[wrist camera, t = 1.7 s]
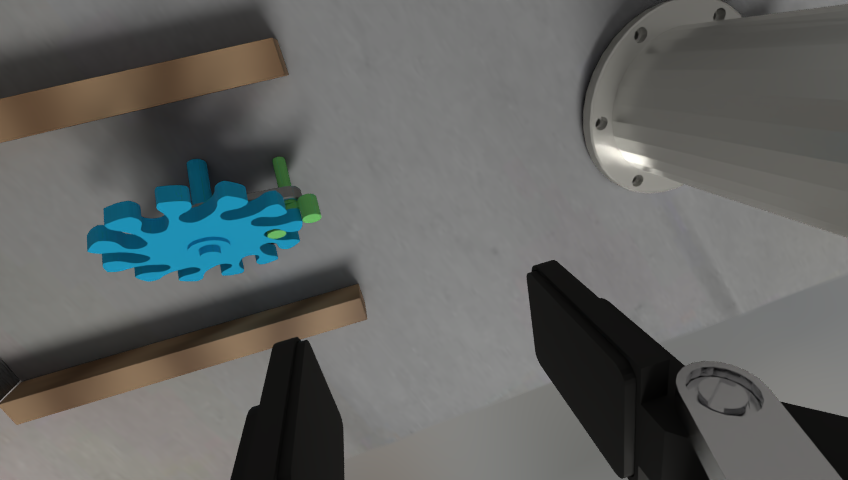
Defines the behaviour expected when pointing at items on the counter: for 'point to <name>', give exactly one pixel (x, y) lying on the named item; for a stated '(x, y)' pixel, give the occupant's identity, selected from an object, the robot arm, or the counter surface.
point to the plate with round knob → (6, 379)
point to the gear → (203, 227)
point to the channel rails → (197, 347)
